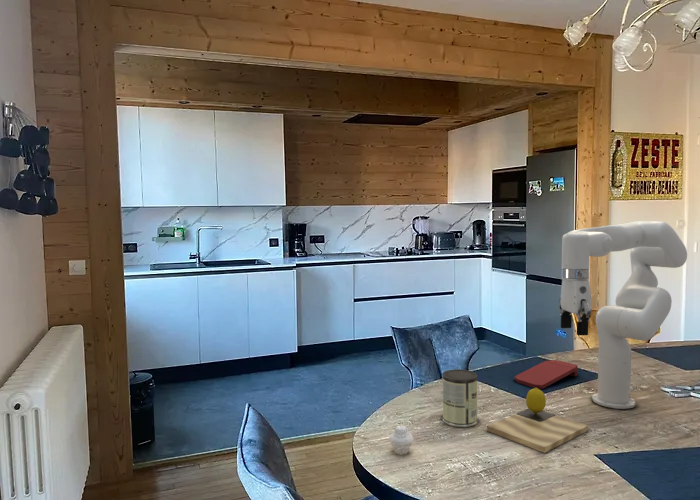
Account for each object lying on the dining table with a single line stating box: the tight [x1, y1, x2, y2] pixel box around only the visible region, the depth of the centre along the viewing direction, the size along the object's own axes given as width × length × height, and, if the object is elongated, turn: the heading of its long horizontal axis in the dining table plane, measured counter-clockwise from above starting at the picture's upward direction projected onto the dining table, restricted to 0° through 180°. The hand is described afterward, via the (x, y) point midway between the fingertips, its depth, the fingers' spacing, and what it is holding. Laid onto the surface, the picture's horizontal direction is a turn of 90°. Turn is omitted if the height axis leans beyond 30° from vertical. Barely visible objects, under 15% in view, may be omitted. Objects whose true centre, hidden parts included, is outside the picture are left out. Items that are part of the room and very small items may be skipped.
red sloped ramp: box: [514, 359, 579, 390], centre depth 198 cm, size 12×5×25 cm
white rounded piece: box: [389, 425, 414, 455], centre depth 139 cm, size 6×6×7 cm
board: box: [486, 407, 589, 454], centre depth 151 cm, size 22×18×2 cm
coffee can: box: [441, 369, 479, 428], centre depth 159 cm, size 10×10×14 cm
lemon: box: [525, 388, 547, 414], centre depth 159 cm, size 6×6×8 cm
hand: (573, 331), depth 159 cm, fingers open, 9 cm apart
